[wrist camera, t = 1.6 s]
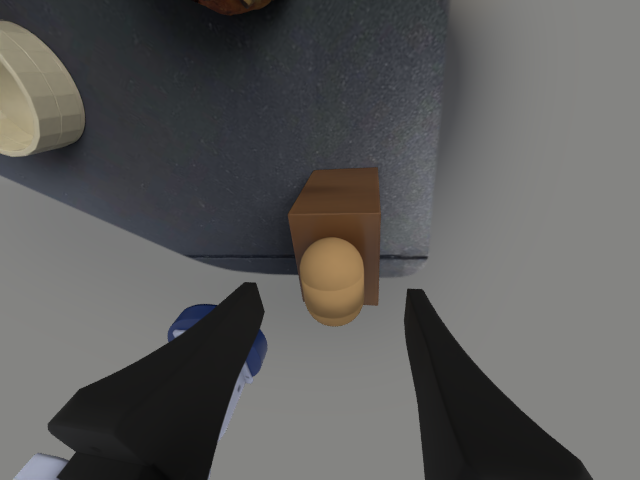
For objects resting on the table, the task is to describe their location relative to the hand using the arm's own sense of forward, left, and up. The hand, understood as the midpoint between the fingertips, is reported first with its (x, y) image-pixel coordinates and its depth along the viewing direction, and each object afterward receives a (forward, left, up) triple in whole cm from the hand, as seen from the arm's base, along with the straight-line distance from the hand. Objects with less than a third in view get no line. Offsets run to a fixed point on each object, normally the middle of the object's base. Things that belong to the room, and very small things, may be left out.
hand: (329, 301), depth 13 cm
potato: (0, 0, -3) cm, 3 cm away
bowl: (+10, +24, -10) cm, 28 cm away
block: (0, 0, -10) cm, 10 cm away
